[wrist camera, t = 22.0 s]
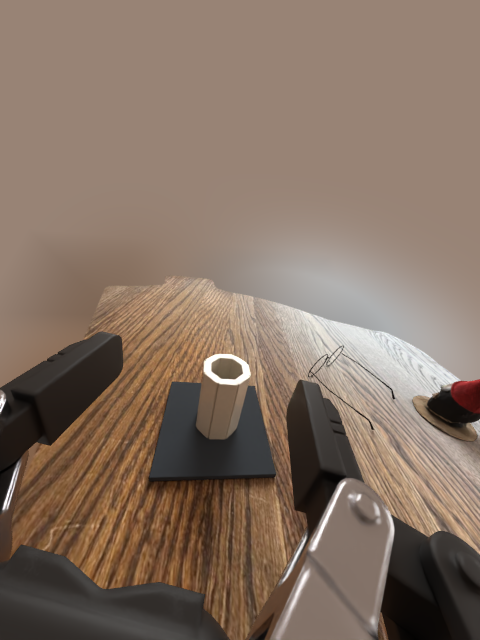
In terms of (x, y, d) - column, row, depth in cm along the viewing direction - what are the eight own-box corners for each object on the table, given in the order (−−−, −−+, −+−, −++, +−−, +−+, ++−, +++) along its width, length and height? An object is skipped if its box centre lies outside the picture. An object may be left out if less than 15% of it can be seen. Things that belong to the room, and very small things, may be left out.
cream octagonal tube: (194, 439, 22) (202, 383, 19) (197, 403, 27) (204, 352, 23) (238, 439, 23) (253, 386, 20) (234, 404, 28) (246, 355, 24)
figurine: (434, 370, 39) (533, 373, 28) (442, 427, 37) (553, 456, 26) (398, 368, 38) (487, 371, 26) (404, 427, 36) (504, 459, 24)
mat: (148, 481, 19) (148, 477, 19) (171, 384, 29) (172, 381, 29) (274, 477, 21) (276, 474, 21) (253, 388, 32) (254, 385, 31)
